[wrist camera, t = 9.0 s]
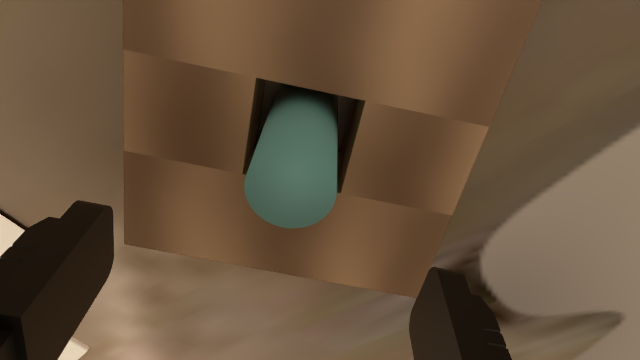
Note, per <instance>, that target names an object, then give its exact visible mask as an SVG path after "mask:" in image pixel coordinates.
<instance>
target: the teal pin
mask: <svg viewBox="0 0 640 360" xmlns="http://www.w3.org/2000/svg"><path fill="white" fill-rule="evenodd" d="M337 137H338V98H337V95H336V94H331V93H326V92H322V91H317V90H312V89H307V88H303V87H298V86H293V85H288V84H284V83H281V84H280V85H279V87H278V89H277V91H276V94H275V96H274V99H273V102H272V105H271V108H270V110H269V113H268V116H267V119H266V121H265V124H264V127H263V130H262V133H261V135H260V138H259V141H258V144H257V146H256V149H255V152H254V155H253V157H252V160H251V163H250V166H249V169H248V171H247V174H246V177H245V182H244V190H245V195H246V199H247V201H248V203H249V205H250V207H251V208H252V209H253V211H254V212H255V213H256V214H257V215H258V216H260V217H261V218H262V219H264V220H265V221H267V222H269V223H271V224H273V225H276V226H279V227H284V228H302V227H307V226H310V225H313V224H315V223H317V222H318V221H320V220H322V219H323V218H324V217H325V216H326V215H327V214H328V213H329V212H330V210H331V209H332V207H333V205H334V203H335V200H336V196H337Z"/></svg>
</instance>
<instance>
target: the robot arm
mask: <svg viewBox="0 0 640 360" xmlns="http://www.w3.org/2000/svg"><path fill="white" fill-rule="evenodd" d="M113 259H114V235H113V210H112V208H111V207H110V206H107V205H101V204H96V203H91V202H85V201H79V200H78V201H76V202H74V203H73V204H72V205H71V207H70V208H69V209H68V210H67V211H66V212H65V213H64V215H63V216H62V217H61V218H60V219H59V218H53V217H48V218H46V219H44V220H42V221H40V222H38V223H36V224H34V225H33V226H31V227H29V228H27V229H26V230H25V231H24V232H23V233H22V234H21V235H20V236H19V237H18V239H17V240H16V241H15V242H14V243H13V245H12V247H9V248H8V249H7V250H6V251H5V252H4V253H3V254H2V255H1V256H0V360H58V358H59V357H60V355H61V353H62V352H63V350H64V349H65V347H66V345H67V344H68V342H69V340H70V339H71V337H72V336H73V334H74V332H75V331H76V329H77V327H78V326H79V324H80V323H81V321H82V319H83V318H84V316H85V314H86V313H87V311H88V310H89V308H90V306H91V305H92V303H93V301H94V300H95V298H96V297H97V295H98V293H99V292H100V290H101V288H102V287H103V285H104V284H105V282H106V280H107V278H108V276H109V274H110V271H111V268H112V264H113ZM409 332H410V339H411V344H412V350H413V356H414V360H512V359H511V356H510V354H509V351H508V349H506V343H505V341H504V338H503V336H502V334H500V328H499V325H498V323H497V320H496V318H495V315H494V313H493V311H492V310H491V309H490V308H489V307H488V305H487V304H486V303H485V302H484V301H483V299H482V298H481V297H480V296H477V295H472V294H471V293H470V290H469V287H468V284H467V282H466V279H465V276H464V274H463V273H462V272H458V271H453V270H447V269H442V268H437V267H432V268H431V269H430V270H429V271H428V274H427V276H426V278H425V280H424V283H423V285H422V287H421V290H420V292H419V294H418V297H417V299H416V301H415V304H414V306H413V308H412V311H411V316H410V323H409Z"/></svg>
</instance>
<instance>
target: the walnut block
mask: <svg viewBox="0 0 640 360" xmlns="http://www.w3.org/2000/svg"><path fill="white" fill-rule="evenodd" d="M541 3H542V0H123V49H124V244H126V245H132V246H137V247H142V248H148V249H153V250H159V251H164V252H170V253H175V254H180V255H186V256H191V257H197V258H202V259H208V260H213V261H219V262H224V263H229V264H235V265H240V266H246V267H251V268H257V269H262V270H267V271H273V272H278V273H284V274H289V275H295V276H300V277H305V278H311V279H316V280H322V281H327V282H333V283H338V284H343V285H349V286H354V287H360V288H365V289H371V290H376V291H381V292H387V293H392V294H398V295H403V296H409V297H414V298H417V297H418V294H419V292H420V290H421V287H422V285H423V283H424V280H425V278H426V276H427V274H428V271H429V269H430V267H431V265H432V262H433V260H434V257H435V255H436V253H437V250H438V248H439V245H440V243H441V241H442V238H443V236H444V234H445V231H446V229H447V226H448V224H449V222H450V219H451V217H452V215H453V212H454V210H455V207H456V205H457V203H458V200H459V198H460V196H461V193H462V191H463V188H464V186H465V184H466V181H467V179H468V176H469V174H470V172H471V169H472V167H473V165H474V162H475V160H476V157H477V155H478V153H479V150H480V148H481V146H482V143H483V141H484V138H485V136H486V134H487V131H488V129H489V126H490V124H491V122H492V119H493V117H494V115H495V112H496V110H497V107H498V105H499V103H500V100H501V98H502V96H503V93H504V91H505V88H506V86H507V84H508V81H509V79H510V77H511V74H512V72H513V69H514V67H515V65H516V62H517V60H518V57H519V55H520V53H521V50H522V48H523V46H524V43H525V41H526V38H527V36H528V34H529V31H530V29H531V27H532V24H533V22H534V19H535V17H536V15H537V12H538V10H539V7H540V5H541ZM266 80H270V81H274V82H279V83H284V84H288V85H293V86H298V87H303V88H307V89H312V90H317V91H322V92H326V93H331V94H336V95H340V96H345V97H350V98H354V102H353V106H352V110H351V114H350V118H349V121H348V125H347V129H346V133H345V137H344V141H343V145H342V149H341V152H339V151H337V196H336V200H335V203H334V205H333V207H332V209H331V210H330V212H329V213H328V214H327V215H326V216H325V217H324V218H323V219H322V220H320V221H318V222H317V223H315V224H313V225H310V226H307V227H302V228H284V227H279V226H276V225H273V224H271V223H269V222H267V221H265V220H264V219H262V218H261V217H260V216H258V215H257V214H256V213H255V212H254V211H253V209H252V208H251V207H250V205H249V203H248V201H247V199H246V195H245V190H244V182H245V177H246V174H247V171H248V169H249V166H250V163H251V160H252V157H253V155H254V152H255V149H256V146H257V144H258V141H259V138H260V135H257V133H258V127H259V120H260V114H261V107H262V101H263V94H264V87H265V81H266Z"/></svg>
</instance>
